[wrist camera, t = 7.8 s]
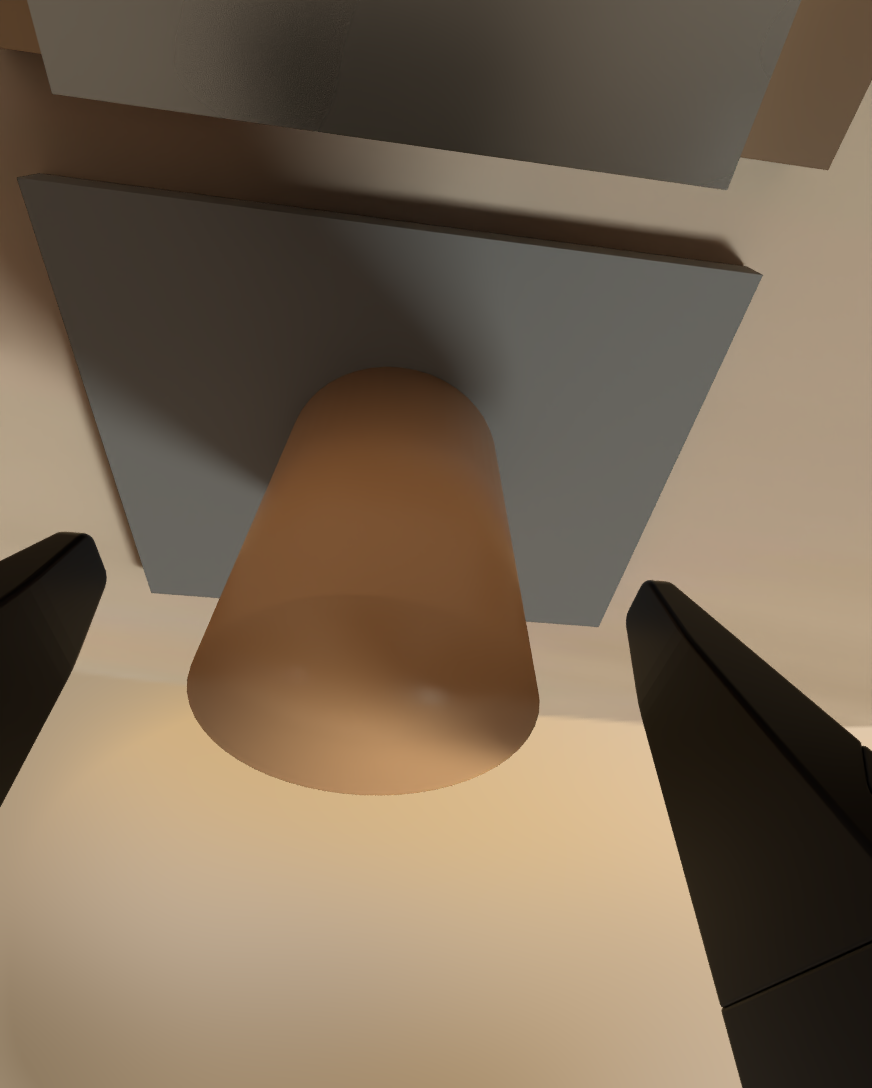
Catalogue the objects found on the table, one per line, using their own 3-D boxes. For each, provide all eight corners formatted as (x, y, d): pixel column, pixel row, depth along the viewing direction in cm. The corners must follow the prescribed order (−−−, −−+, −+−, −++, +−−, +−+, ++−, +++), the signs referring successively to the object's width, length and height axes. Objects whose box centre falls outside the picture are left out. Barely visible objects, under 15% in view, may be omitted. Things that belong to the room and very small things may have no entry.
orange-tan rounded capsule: (515, 380, 10) (583, 611, 6) (477, 553, 13) (502, 802, 8) (282, 353, 10) (149, 577, 5) (295, 537, 13) (215, 787, 8)
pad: (746, 266, 9) (763, 275, 9) (593, 611, 15) (598, 627, 15) (39, 173, 9) (16, 177, 8) (160, 577, 14) (151, 592, 14)
